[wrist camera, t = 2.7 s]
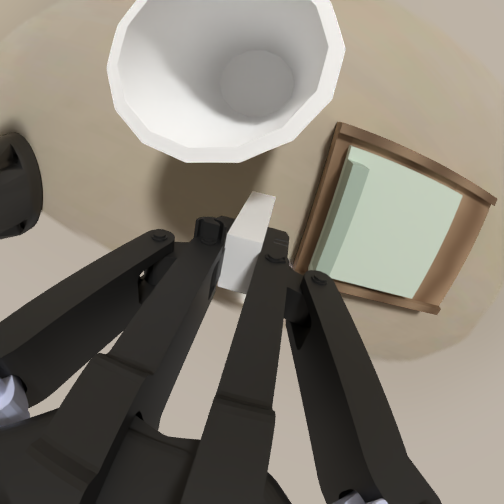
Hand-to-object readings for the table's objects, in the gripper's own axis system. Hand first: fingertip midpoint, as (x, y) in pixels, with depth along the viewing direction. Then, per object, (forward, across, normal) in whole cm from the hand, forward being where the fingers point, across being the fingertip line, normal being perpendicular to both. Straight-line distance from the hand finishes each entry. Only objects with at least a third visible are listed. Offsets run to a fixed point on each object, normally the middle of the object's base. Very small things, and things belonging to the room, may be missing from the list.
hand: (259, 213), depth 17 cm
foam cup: (+7, -3, +9) cm, 11 cm away
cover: (+5, +11, 0) cm, 11 cm away
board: (+7, +12, 0) cm, 14 cm away
